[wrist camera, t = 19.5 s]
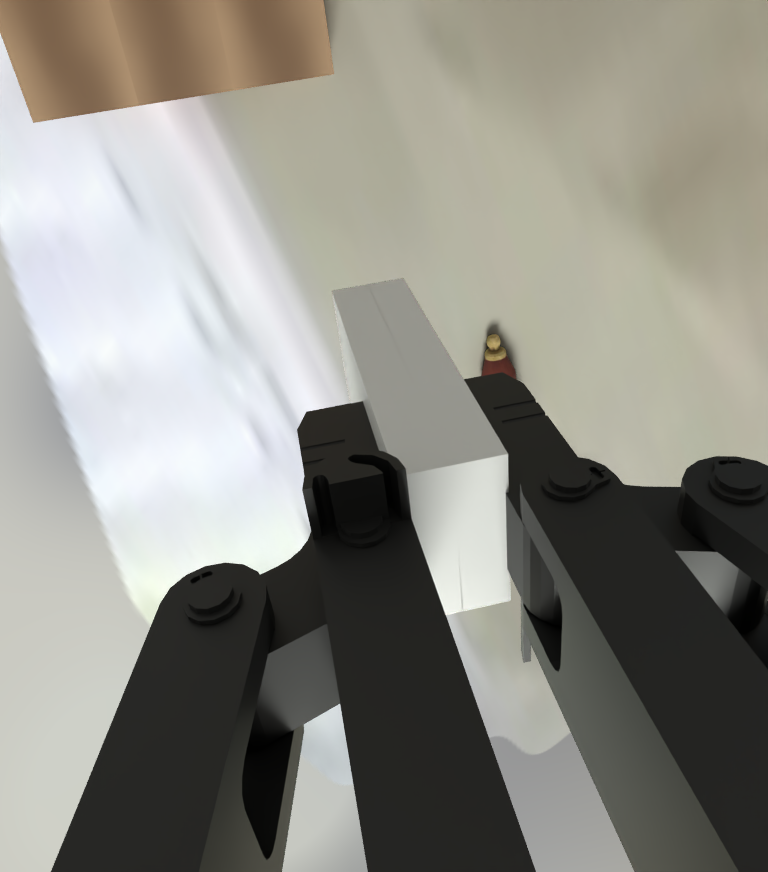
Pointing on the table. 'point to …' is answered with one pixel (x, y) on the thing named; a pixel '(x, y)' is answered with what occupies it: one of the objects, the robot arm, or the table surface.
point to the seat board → (157, 49)
